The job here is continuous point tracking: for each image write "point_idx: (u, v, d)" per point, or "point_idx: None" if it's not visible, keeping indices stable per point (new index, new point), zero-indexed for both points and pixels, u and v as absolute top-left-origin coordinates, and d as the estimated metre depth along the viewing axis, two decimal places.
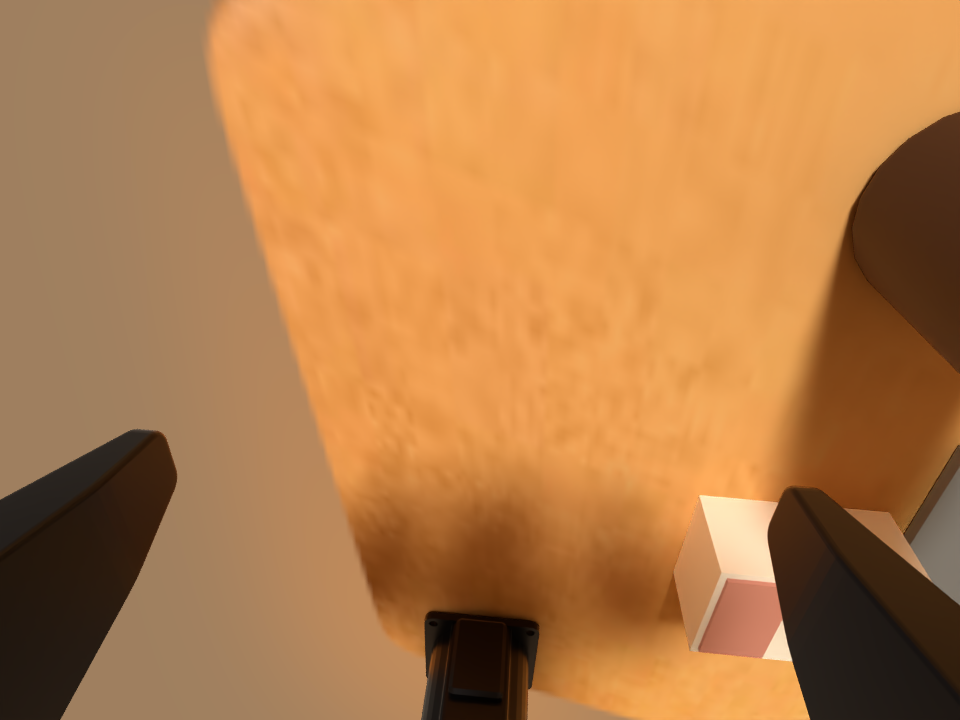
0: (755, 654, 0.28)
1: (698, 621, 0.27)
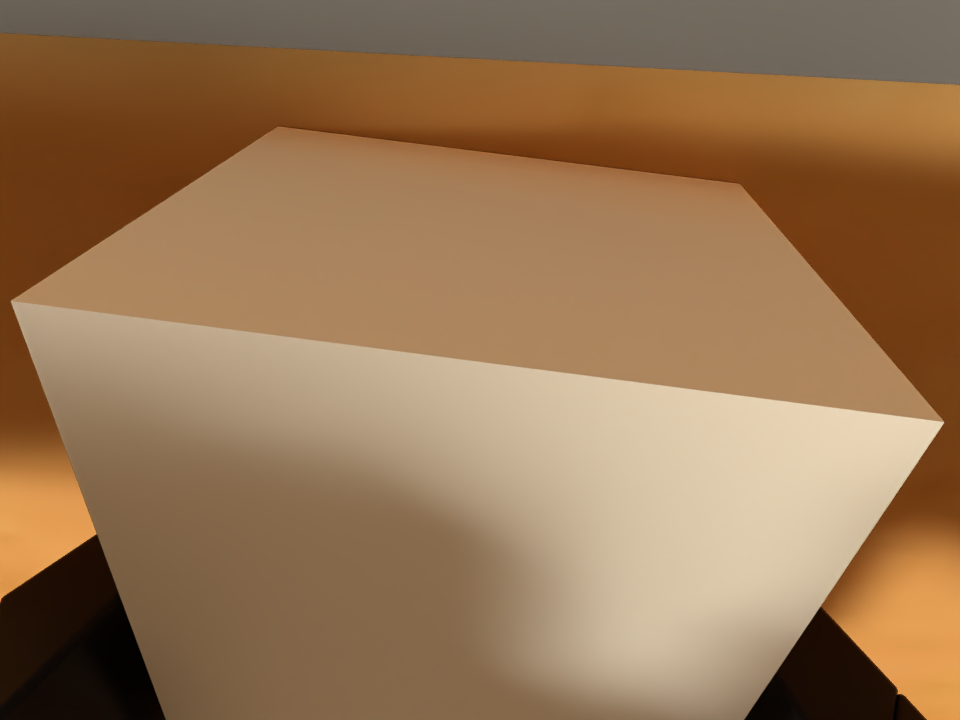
0: None
1: None
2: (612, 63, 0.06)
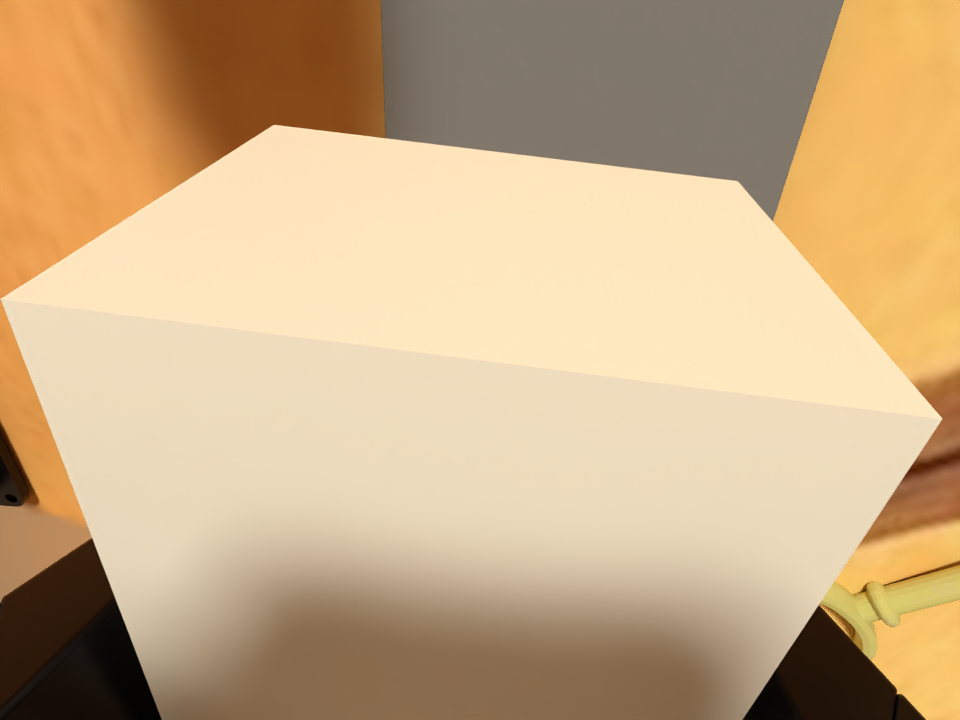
0: None
1: None
2: None
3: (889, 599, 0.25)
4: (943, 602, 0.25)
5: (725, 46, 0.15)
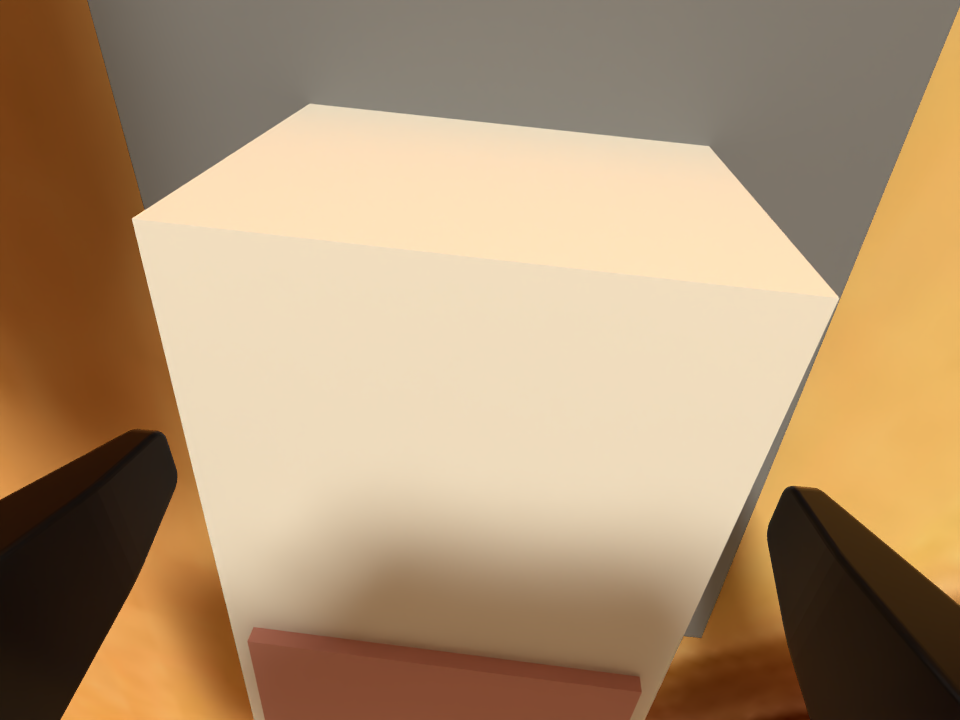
0: (617, 704, 0.08)
1: None
2: None
3: None
4: None
5: (727, 91, 0.08)
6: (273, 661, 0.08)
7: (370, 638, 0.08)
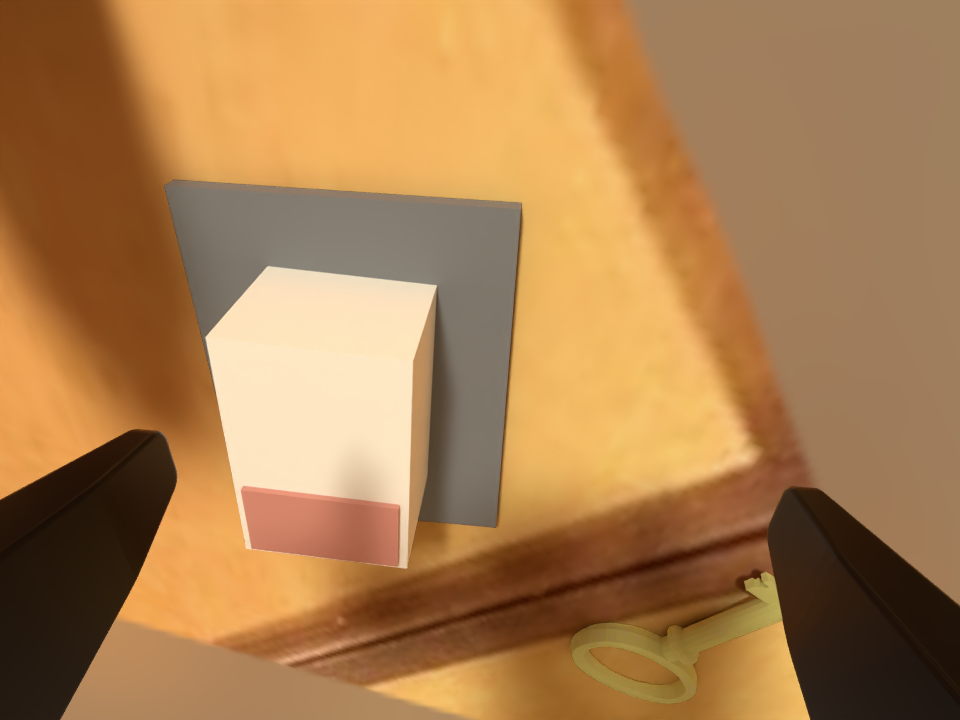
0: (390, 516, 0.19)
1: None
2: None
3: (682, 641, 0.29)
4: (721, 642, 0.28)
5: (439, 265, 0.20)
6: (251, 500, 0.20)
7: (290, 489, 0.19)
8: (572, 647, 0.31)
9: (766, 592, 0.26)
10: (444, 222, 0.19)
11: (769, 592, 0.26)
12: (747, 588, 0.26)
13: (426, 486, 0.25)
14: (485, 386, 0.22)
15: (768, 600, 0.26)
